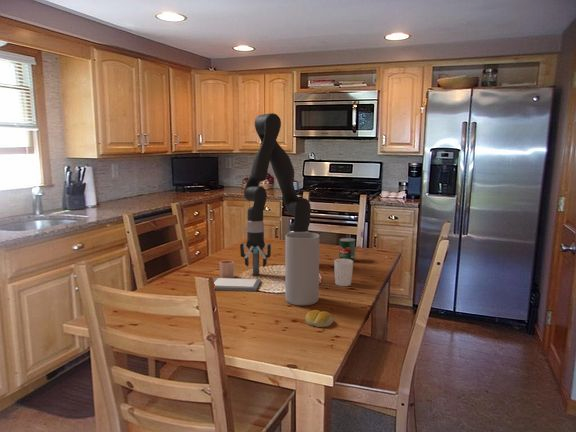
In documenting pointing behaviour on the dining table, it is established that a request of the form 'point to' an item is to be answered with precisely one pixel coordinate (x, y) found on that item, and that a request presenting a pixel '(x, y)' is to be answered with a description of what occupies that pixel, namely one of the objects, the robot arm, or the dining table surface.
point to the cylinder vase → (302, 268)
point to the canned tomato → (347, 249)
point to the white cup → (343, 271)
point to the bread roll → (319, 318)
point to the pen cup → (226, 269)
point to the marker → (255, 261)
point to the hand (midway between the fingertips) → (255, 266)
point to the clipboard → (236, 284)
